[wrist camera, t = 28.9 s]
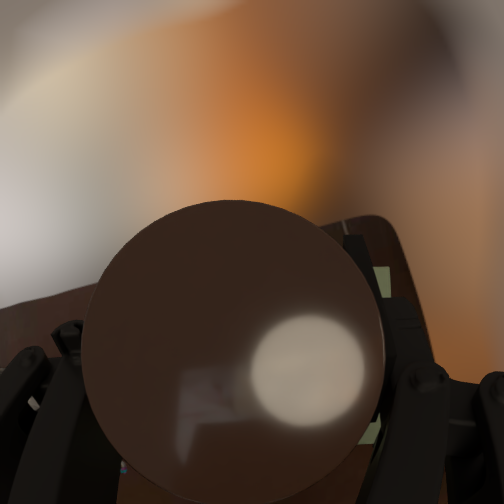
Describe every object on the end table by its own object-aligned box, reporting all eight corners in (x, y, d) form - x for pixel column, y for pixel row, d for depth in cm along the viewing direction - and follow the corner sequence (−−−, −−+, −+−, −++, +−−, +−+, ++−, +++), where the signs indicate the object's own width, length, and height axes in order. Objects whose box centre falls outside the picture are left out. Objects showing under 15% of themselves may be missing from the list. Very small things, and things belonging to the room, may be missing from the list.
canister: (342, 293, 14) (378, 194, 5) (337, 421, 12) (369, 515, 4) (217, 292, 15) (103, 208, 7) (209, 413, 13) (77, 463, 5)
